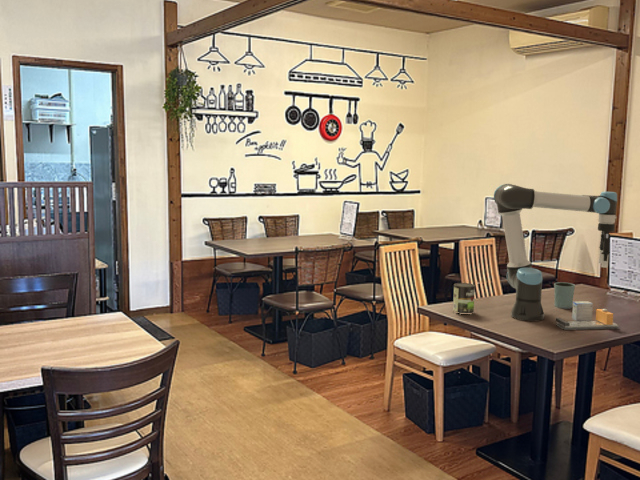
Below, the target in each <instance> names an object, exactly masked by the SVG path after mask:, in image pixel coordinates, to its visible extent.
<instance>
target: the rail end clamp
mask: <svg viewBox="0 0 640 480" xmlns="http://www.w3.org/2000/svg"><path fill="white" fill-rule="evenodd" d="M595 321H599V322H602V323H604V324H606V325H613V323H614V313H612V312H610V311H608V309H607V308H597V309H596V310H595Z"/></svg>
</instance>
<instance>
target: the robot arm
mask: <svg viewBox="0 0 640 480" xmlns="http://www.w3.org/2000/svg"><path fill="white" fill-rule="evenodd" d="M493 199H494V202H495V204H496V207H497V212H498V214H499V215H500V216H501V218H502V224H503V229H504V236H505V242H506V249H507V254H508V255H507V257H508V261H509V262H508V263H507V265H506V269H507V273H506V281H507V282H508V284H509V285H510V287H511V288H513V289H515V302H514V303H513V307H512V309H511V313H510V315H511V318H513V317H514V319H515V318H517V319H516V320H519V319H521V320H520V321H525V320H528V321H529V322H538V321H539V320H540V321H542V320H544V319H545V312H544V309H543V305H542V291H543V289H542V288H543V273H542V271H541V270H539V269H537V268H534V267H532V262H531V261H530V260H529V259H528V257H527V252H526V251H527V250H526V245H525V244H526V243H525V239H524V238H525V237H524V231H523V224H522V219H521V211H522V210H524V209H527V210H532V209H534V208H539V209H540V208H541V209H551V210H562V211H575V212H584V213H585V212H586V213H596V214H598V219H597V221H598V223H597V230H598V231H600V232H601V234H600V242H599V247H598V248H599V254H598V255H599V257H598V264H601V265H600V267H601V268H606V269H607V268H608V266H609V255H610V246H611V245H610V242H611V234H610V233H612V232H613V233H614V232H615V229H616V225H615V223H616V219H617V218H618V217H617V216H616V213H617V206H618V205H617V204H618V193H617V192H615V191H601V192H600V195H590V194H589V195H586V194H568V193H558V192H546V191H537V190H535V189H534V188H528V187H527V188H526V187H523V186H519V185H516V184H512V183H504V184H501V185H499V186H498V187H497V188H495V190H494V193H493ZM528 321H527V322H528Z"/></svg>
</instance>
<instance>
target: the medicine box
mask: <svg viewBox="0 0 640 480" xmlns="http://www.w3.org/2000/svg"><path fill="white" fill-rule="evenodd" d="M593 309H594V303H593V302H591V301H573V304H572V313H571V314H572V315H571V319H572V321H593Z"/></svg>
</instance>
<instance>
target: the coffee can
mask: <svg viewBox="0 0 640 480" xmlns="http://www.w3.org/2000/svg"><path fill="white" fill-rule="evenodd" d="M475 291H476V285H475V284H474V283H467V282H457V283H454V284H453V308H452V311H453V310H454V311H456V312H459V313H473V312H475ZM473 314H474V313H473Z"/></svg>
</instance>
